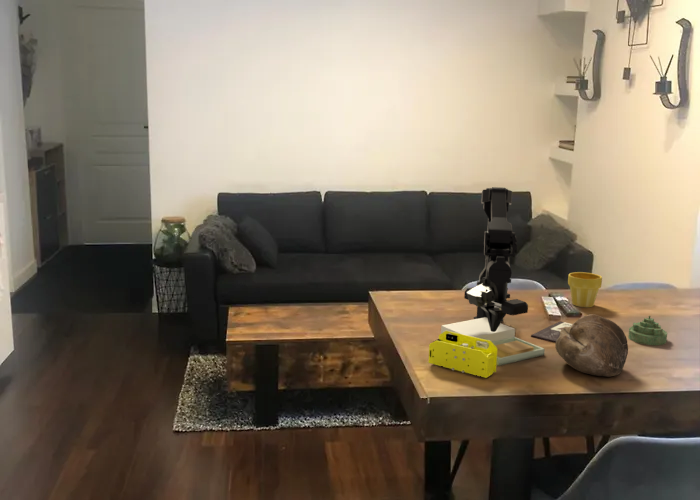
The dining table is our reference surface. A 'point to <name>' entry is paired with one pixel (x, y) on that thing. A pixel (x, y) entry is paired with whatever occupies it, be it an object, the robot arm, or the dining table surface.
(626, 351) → the seashell
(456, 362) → the yellow toy chassis
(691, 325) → the dining table surface
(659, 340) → the decorative artifact
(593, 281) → the plant pot
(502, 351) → the tan curved block
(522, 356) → the tray
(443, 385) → the dining table surface
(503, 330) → the block
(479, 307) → the robot arm
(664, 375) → the dining table surface
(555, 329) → the chocolate bar
